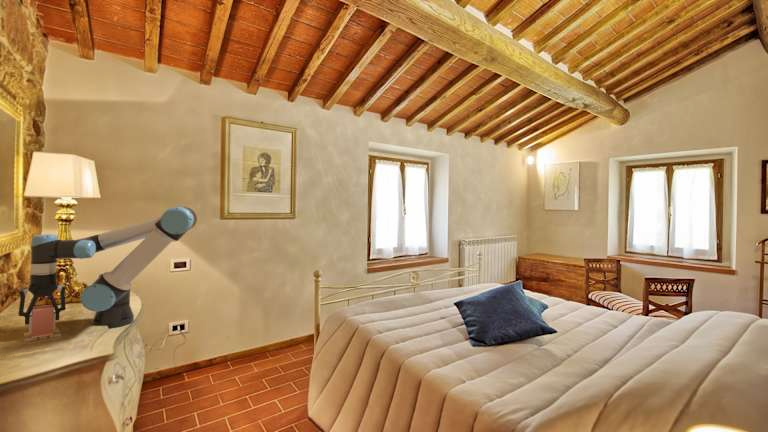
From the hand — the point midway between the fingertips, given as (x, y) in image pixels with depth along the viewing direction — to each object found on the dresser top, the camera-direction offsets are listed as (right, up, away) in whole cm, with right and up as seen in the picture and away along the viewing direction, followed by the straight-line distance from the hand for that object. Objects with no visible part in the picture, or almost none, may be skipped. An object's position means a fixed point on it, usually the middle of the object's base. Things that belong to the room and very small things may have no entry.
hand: (42, 330), depth 139 cm
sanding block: (0, -1, 0) cm, 1 cm away
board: (+1, -3, -1) cm, 3 cm away
